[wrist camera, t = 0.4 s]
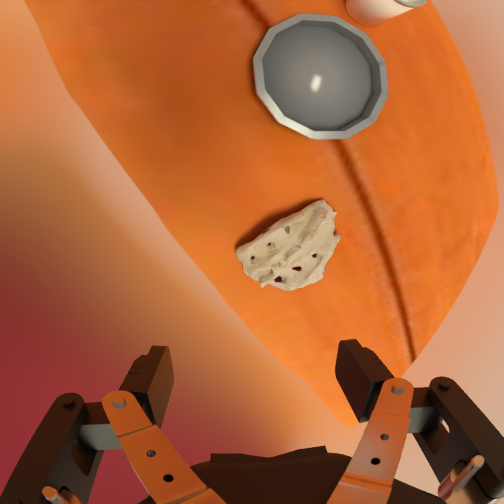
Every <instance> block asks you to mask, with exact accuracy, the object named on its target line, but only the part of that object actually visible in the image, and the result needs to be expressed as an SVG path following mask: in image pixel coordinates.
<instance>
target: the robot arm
mask: <svg viewBox="0 0 504 504" xmlns="http://www.w3.org/2000/svg"><path fill="white" fill-rule="evenodd" d="M335 375H336V379H337V381H338V383H339V384H340V386H341V388H342V390H343V392H344V394H345V396H346V398H347V400H348V402H349V404H350V406H351V408H352V410H353V412H354V414H355V416H356V417H357V419H358V421H359V423H362V422H366V421H369V422H368V424H367V426H366V429H365V431H364V433H363V436H362V438H361V440H360V442H359V445H358V447H357V449H356V451H355V453H354V455H353V457H350V456H346V455H343V454H338V453H327V450H326V447H325V446H319V447H312V448H305V449H298V450H295V451H292V452H288V453H285V454H282V455H278V456H275V457H270V458H267V457H259V456H251V455H245V454H213V453H212V454H211V459H210V461H207V462H202V463H199V464H196V465H193V466H191V467H189V466H188V465H187V464H186V463H185V461H184V460H183V459H182V458H181V457H180V455H179V454H178V453H177V451H176V450H175V449H174V448H173V447H172V445H171V444H170V442H169V441H168V440H167V438H166V437H165V436H164V434H163V433H162V432H161V426H162V422H163V419H164V415H165V412H166V408H167V405H168V401H169V398H170V394H171V391H172V387H173V384H174V373H173V367H172V361H171V356H170V350H169V347H168V346H155V345H154V346H152V347H151V349H150V351H149V353H148V355H141V356H140V357H139V358H137V359H136V360H135V361H134V363H133V364H132V366H131V369H130V370H129V372H128V374H127V376H126V377H125V379H124V381H123V383H122V385H121V386H120V388H119V390H118V391H113V392H111V393H109V394H107V395H106V396H105V397H104V398H103V401H102V402H94V403H85V402H84V400H83V398H82V397H81V396H80V395H79V394H76V393H65V394H62V395H60V396H59V397H58V398H56V400H55V401H54V403H53V404H52V406H51V407H50V409H49V411H48V412H47V414H46V415H45V417H44V419H43V420H42V422H41V423H40V425H39V427H38V428H37V430H36V431H35V433H34V435H33V437H32V438H31V440H30V442H29V443H28V445H27V447H26V449H25V450H24V452H23V454H22V456H21V458H20V459H19V461H18V463H17V465H16V467H15V469H14V471H13V472H12V474H11V476H10V478H9V480H8V482H7V484H6V486H5V488H4V490H3V492H2V495H1V497H0V504H87V503H88V499H89V496H90V493H91V489H92V486H93V483H94V479H95V476H96V473H97V470H98V467H99V464H100V461H101V458H102V455H103V452H104V450H111V449H123V451H124V453H125V455H126V457H127V458H128V460H129V462H130V464H131V466H132V467H133V469H134V471H135V472H136V474H137V476H138V477H139V479H140V481H141V482H142V484H143V486H144V487H145V489H146V490H147V492H148V493H149V495H150V496H148V497H147V498H146V499H144V500H142V501H141V502H139V503H138V504H496V503H497V502H498V501H499V500H500V499H502V497H504V437H503V436H502V435H501V434H500V432H499V431H498V430H497V429H496V428H495V426H494V425H493V424H492V423H491V422H490V421H489V419H488V418H487V417H486V416H485V415H484V414H483V413H482V411H481V410H480V409H479V408H478V407H477V406H476V405H475V403H474V402H473V401H472V400H471V399H470V398H469V397H468V395H467V394H466V393H465V392H464V391H463V390H462V389H461V388H460V387H459V386H458V384H457V383H456V382H455V381H454V380H452V379H450V378H447V377H436V378H434V379H433V380H431V382H430V385H429V387H424V388H414V387H413V386H412V384H411V383H410V382H409V381H407V380H405V379H402V378H395V377H394V376H393V375H392V374H391V372H390V371H389V370H388V369H387V367H386V366H385V365H384V364H383V362H382V361H381V360H380V359H379V357H378V356H377V355H376V354H375V353H374V352H373V351H372V350H370V349H368V348H366V347H364V348H363V347H362V346H361V345H360V343H359V342H358V341H357V340H356V339H350V340H341V341H340V342H339V346H338V353H337V359H336V365H335ZM443 419H444V421H445V422H446V423H447V425H448V427H449V433H448V431H447V430H446V429H445V427H444V426H443V424H442V421H443ZM407 433H412V434H413V436H414V437H415V439H416V441H417V442H418V444H419V446H420V448H421V450H422V452H423V453H424V455H425V457H426V459H427V460H428V462H429V464H430V466H431V468H432V469H433V471H434V473H435V475H436V477H437V479H438V481H439V483H440V485H439V488H438V496H439V497H438V496H435V495H433V494H430V493H427V492H425V491H422V490H420V489H417V488H415V487H413V486H410V485H408V484H406V483H403V482H401V481H399V480H397V479H394V476H395V474H396V470H397V467H398V464H399V461H400V458H401V454H402V451H403V447H404V443H405V440H406V436H407Z"/></svg>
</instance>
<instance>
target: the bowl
mask: <svg viewBox="0 0 504 504" xmlns="http://www.w3.org/2000/svg"><path fill="white" fill-rule="evenodd" d="M253 72H254V82H255V92H256V96H257V97H258V98H259V100H260V101H261V102H262V104H263V105H264V106H265V108H266V109H267V110H268V112H269V113H270V114H271V116H272V117H273V118H274V120H275V121H276V122H277V123H279V124H282V125H284V126H286V127H288V128H290V129H292V130H294V131H296V132H298V133H300V134H302V135H304V136H306V137H308V138H310V139H348V138H350V137H351V136H353V135H355V134H356V133H358V132H360V131H361V130H363V129H365V128H366V127H368V126H370V125H371V124H373V123H374V122H375V121H376V119H377V117H378V115H379V113H380V111H381V109H382V107H383V105H384V103H385V101H386V99H387V97H388V83H387V71H386V63H385V61H384V60H383V58H382V56H381V55H380V53H379V52H378V50H377V49H376V47H375V45H374V44H373V42H372V41H371V40H370V38H369V37H368V35H366V33H364V32H362V31H361V30H359V29H358V28H356V27H354V26H353V25H351V24H349V23H348V22H346V21H344V20H342V19H341V18H339V17H337V16H332V15H320V14H298V15H296V16H294V17H291V18H289V19H287V20H285V21H283V22H281V23H279V24H277V25H275V26H273V27H272V28H270V29H269V30H268V32H267V34H266V35H265V37H264V39H263V41H262V43H261V44H260V46H259V48H258V50H257V52H256V53H255V55H254V57H253Z"/></svg>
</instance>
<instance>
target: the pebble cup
mask: <svg viewBox="0 0 504 504" xmlns="http://www.w3.org/2000/svg"><path fill="white" fill-rule="evenodd" d="M426 1H427V0H346V3H345V6H346V10H347V12H348V14H349V15H350V17H351V18H352V19H353V20H354V21H356V22H357V23H359V24H361V25H363V26H366V27H376V26H378V25H380V24H382V23H384V22H386V21H388V20H390V19H392V18H394V17H396V16H398V15H400V14H402V13H404V12H406V11H408V10H411V9H413V8H416V7H419V6H422V5H424V4H425V3H426Z"/></svg>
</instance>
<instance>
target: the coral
mask: <svg viewBox="0 0 504 504" xmlns="http://www.w3.org/2000/svg"><path fill="white" fill-rule="evenodd" d="M336 214H337V213H336V212H335V211H333V210H332V209H331V207H330V205H328V204H327V203H326V202H325V200H318V201H316V202H313V203H312V204H310V205H308V206H307V207H305V208H304V209H302V210H301V211H299V212H296V213H293V214H291V215H290V216H288V217H285V218H282V219H280V220H279V221H277V222H276V223H275V224H273V225H272V226H271V227H269V228H268V229H266V230H265V231H263V232H262V233H261V234H260V235H259V236H258V237H257V238H256V239H254V240H253V241H251V242H248V243H246V244H244V245H242V246H240V247H239V248H238V249H237V251H236V253H235V254H236V255H237V257H238V259H239V260H240V261H241V263H242V264H243V271H244V273H245V274H247V275H248V276H249V277H251V278H252V279H253V280H255V281H259V280H260V279H261V280H260V281H261V282H260V287H261V288H263V287H264V286H265V285H266V284H270V285H272V286H274V287H277V288H280V289H282V290H289V291H292V290H294V289H296V288H302V287H304V286H306V285H309V284H313V283H315V282H317V281H318V280H320V279H322V278H323V277H324V272H325V271H326V267H325V264H326V263H327V261H328V260H329V258H330V257H331V255H332V254H333V253H334V249H335V247H336V245H337V243H338V242H339V240H340V236H341V235H340V234H335V235H333V232H334V228H335V224H334V217H335V215H336ZM268 243H271V244H270V245H268ZM313 254H317V255H316V257H314V258H313V257H312V255H313ZM252 256H254V259H251V257H252ZM297 266H300V267H301V268H302V269H301V271H296V270H293V269H292V268H293V267H297ZM278 276H280V277H281V278H282V281H281V282H276V281H274V280H275V278H277V277H278Z"/></svg>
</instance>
